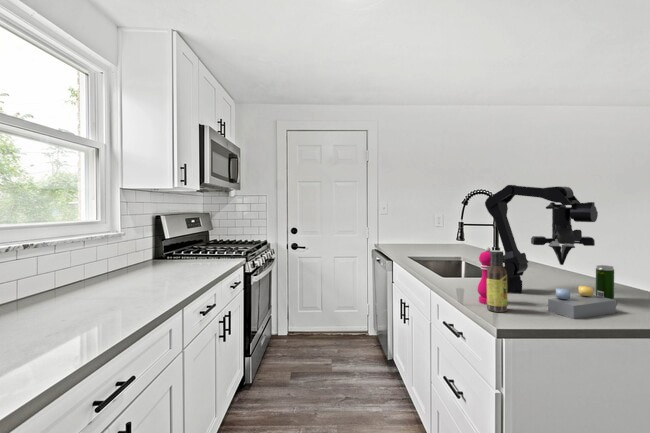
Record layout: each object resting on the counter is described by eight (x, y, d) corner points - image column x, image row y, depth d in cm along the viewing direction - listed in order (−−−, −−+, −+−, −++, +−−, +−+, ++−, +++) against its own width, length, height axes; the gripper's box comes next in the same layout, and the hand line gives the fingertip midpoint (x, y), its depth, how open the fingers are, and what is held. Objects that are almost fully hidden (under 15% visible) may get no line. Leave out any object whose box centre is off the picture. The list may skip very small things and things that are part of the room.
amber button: (580, 305, 125) (580, 288, 125) (576, 302, 129) (577, 285, 129) (594, 306, 124) (594, 288, 124) (590, 303, 128) (590, 286, 127)
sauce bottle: (508, 313, 122) (507, 252, 122) (487, 312, 125) (486, 251, 124) (506, 308, 128) (506, 250, 128) (486, 307, 130) (486, 249, 130)
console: (573, 318, 116) (573, 305, 115) (548, 311, 124) (548, 299, 124) (616, 312, 121) (616, 300, 121) (588, 305, 130) (588, 293, 129)
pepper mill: (498, 300, 139) (497, 246, 138) (500, 305, 132) (500, 248, 131) (476, 299, 141) (476, 245, 140) (478, 304, 134) (477, 248, 134)
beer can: (610, 302, 134) (610, 268, 133) (593, 298, 138) (593, 266, 138) (616, 299, 137) (616, 266, 136) (599, 296, 141) (599, 264, 141)
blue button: (557, 308, 122) (557, 290, 122) (554, 305, 126) (554, 288, 126) (571, 309, 121) (571, 291, 121) (568, 306, 125) (568, 288, 124)
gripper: (536, 222, 131) (536, 267, 132) (600, 222, 125) (600, 269, 126) (530, 221, 142) (530, 262, 142) (589, 220, 136) (589, 264, 136)
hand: (561, 264), depth 136 cm, fingers closed
